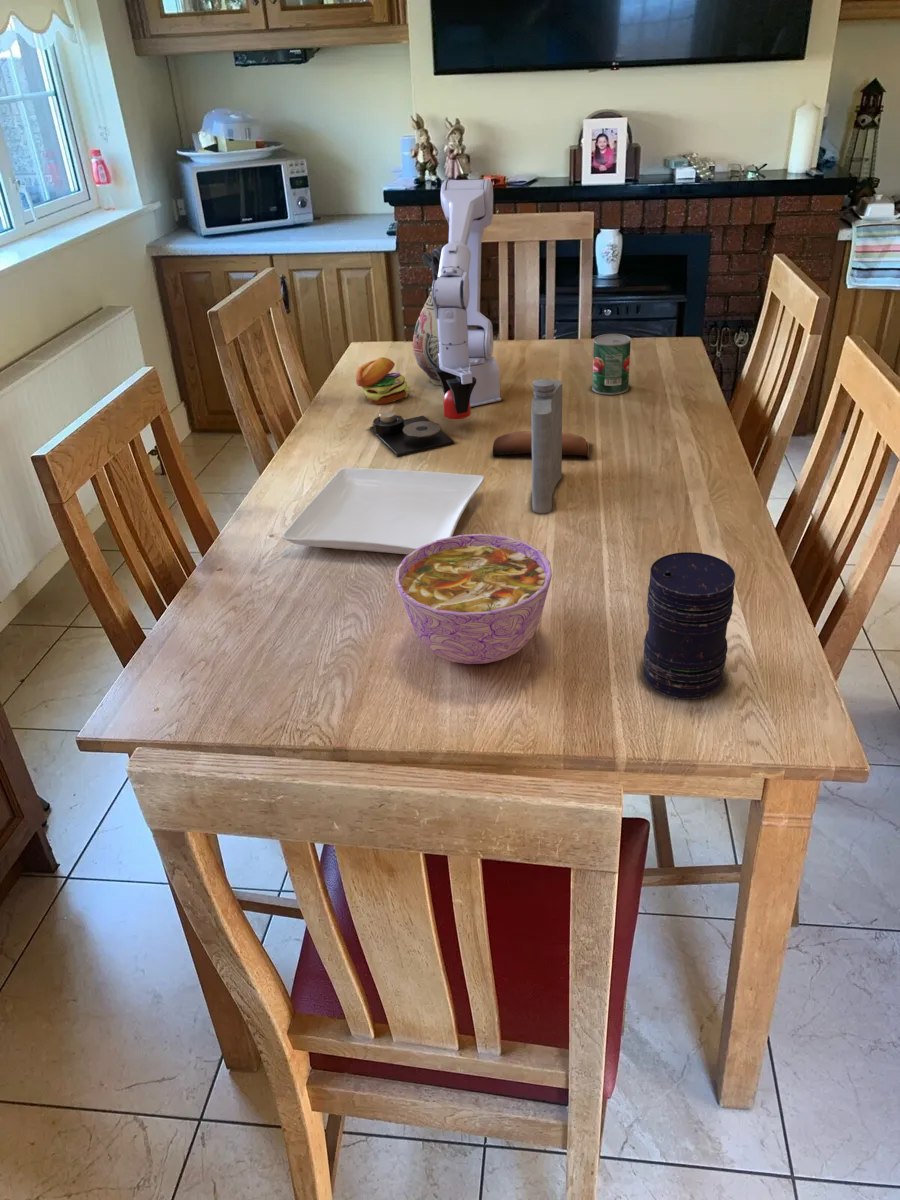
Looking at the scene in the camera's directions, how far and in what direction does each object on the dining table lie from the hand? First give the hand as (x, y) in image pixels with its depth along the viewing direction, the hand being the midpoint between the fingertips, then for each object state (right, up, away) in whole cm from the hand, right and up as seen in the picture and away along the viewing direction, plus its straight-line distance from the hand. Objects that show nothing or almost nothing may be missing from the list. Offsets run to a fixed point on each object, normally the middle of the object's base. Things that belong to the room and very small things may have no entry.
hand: (457, 407), depth 185 cm
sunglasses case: (+16, -11, -10) cm, 22 cm away
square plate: (-12, -26, -31) cm, 42 cm away
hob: (-9, -6, 0) cm, 11 cm away
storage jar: (+28, -48, -70) cm, 90 cm away
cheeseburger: (-16, +6, +20) cm, 26 cm away
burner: (-7, -5, -3) cm, 9 cm away
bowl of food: (+2, -45, -62) cm, 77 cm away
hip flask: (+15, -20, -25) cm, 35 cm away
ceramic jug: (-1, +12, +27) cm, 29 cm away
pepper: (0, -1, +1) cm, 1 cm away
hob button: (-14, -3, +1) cm, 14 cm away
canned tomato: (+34, +7, +17) cm, 38 cm away
